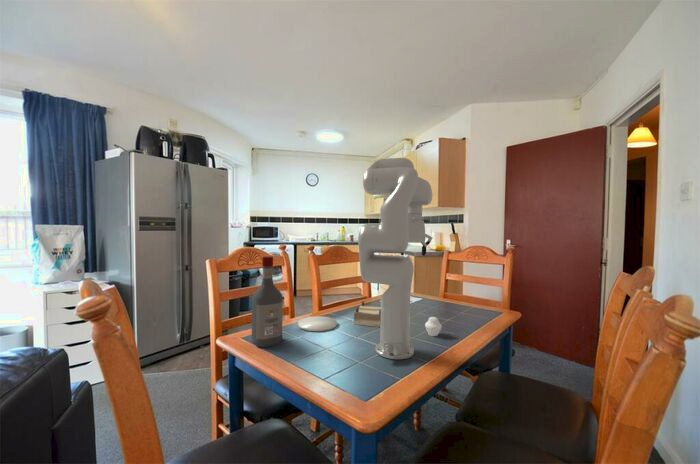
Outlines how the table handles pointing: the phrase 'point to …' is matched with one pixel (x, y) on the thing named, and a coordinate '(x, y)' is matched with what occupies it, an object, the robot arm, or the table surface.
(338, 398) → the table surface
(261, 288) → the liquor
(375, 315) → the pegged square board
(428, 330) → the white rounded piece
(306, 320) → the white plate
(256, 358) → the table surface
